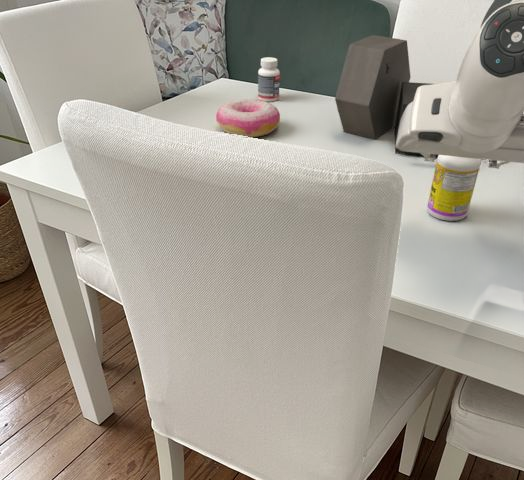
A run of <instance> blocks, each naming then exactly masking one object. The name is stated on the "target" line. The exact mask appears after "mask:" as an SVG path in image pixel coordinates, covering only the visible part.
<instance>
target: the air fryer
mask: <svg viewBox="0 0 524 480" xmlns="http://www.w3.org/2000/svg"><path fill="white" fill-rule="evenodd" d="M432 84H433V83H430V82H429V83H427V82H411V81H409V82H402V86H401V92H400V98H399V105H398V111H397V117H396V123H395V127H394V149H395V150H394V153H395V154H402V155H416V156H423V155H422V154H420V153H417V152H404V151H399V149H398V148H396V141H397V135H398V129H399V124H400V120H401V118H402V115H403V113H404V111H405V109H406V107H407V106H408V105H409V104H410V103H411V102H413V100H414V96H415V93H416V90H417V88H418V87H420V86H423V85H432ZM435 157H438V155H437V154H436V156H435Z"/></svg>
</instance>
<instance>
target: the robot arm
mask: <svg viewBox="0 0 524 480" xmlns="http://www.w3.org/2000/svg"><path fill="white" fill-rule="evenodd" d="M431 84H432V85H423V86H420V87H418V88H417V90H416V93H415V96H414V100H413V102H411V103H410V104H409V105H408V106H407V107H406V109H405V111H404V113H403V115H402V118H401V120H400V124H399V129H398V135H397V141H396V148H398V149H399V150H401V151H406V152H417V153H420V154H422V155H421V156H422V157H424V160H423V161H424V162H430V163H435V160H436V157H437V156H436V154H437V155H447V156H457V157H467V158H477V159H481V160H486V161H487V160H488V162H489V163H488V166H487V167H488V168H490V169H497V170H498V169H500V167H501V166H503V165H506V164H509V163H516V164H517V163H518V164H524V0H493V2H492V3H491V5H490V6H489V8H487V11H486V13H485V15H484V17H483V19H482V21H481V24H480V27H479V29H478V31H477V33H476V34H475V35H474V37H473V39H472V41H471V43H470V45H469V46H468V48H467V51H466V52H465V54H464V57H463V59H462V61H461V64H460V67H459V71H458V73H457V77H456V79H454V80H450V81H446V82H441V83H440V82H439V83H431Z"/></svg>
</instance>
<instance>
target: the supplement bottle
mask: <svg viewBox="0 0 524 480" xmlns="http://www.w3.org/2000/svg"><path fill="white" fill-rule="evenodd" d="M481 164H482V159H477V158H467V157H457V156H447V155H438V156H437V158H436V164H435V168H434V173H433V178H432V182H431V186H430V192H429V196H428V200H427V205H426V206H427V207H426V208H427V209H426V210H427V212H428V214H429V215H430V216H432V217H433V218H435V219H438V220H440V221H447V222H456V221H460V220H463V219H464V218H465V217H467V215H468V213H469V210H470V206H471V203H472V202H471V201H472V197H473V195H474V191H475V187H476V183H477V179H478V175H479V172H480V168H481Z"/></svg>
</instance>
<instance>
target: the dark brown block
mask: <svg viewBox="0 0 524 480" xmlns="http://www.w3.org/2000/svg"><path fill="white" fill-rule="evenodd" d="M409 58H410V57H409V46H408V40H407V39H401V38H395V37H388V36H383V35H375V34H372V35H369V36H366V37H364V38H362V39H359V40H357V41H353V42H351V43H350V44H348V48H347V52H346V56H345V60H344V63H343V66H342V71H341V74H340V77H339V78H340V79H339V83H338V85H337V90H336V93H335V97H334V100H335V104H336V109H337V112H338V116H339V120H340V124H341V128H342V131H343V132H344V133H348V134H352V135H356V136H360V137H364V138H367V139H372V140H377V139H379V138H380V137H381V136H382V135H384V134H386V133H387V132H388V131H390V130H392V129H393V128H395V123H396V117H397V111H398V105H399V98H400V92H401V86H402V82H411V68H410V67H411V66H410V59H409Z"/></svg>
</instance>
